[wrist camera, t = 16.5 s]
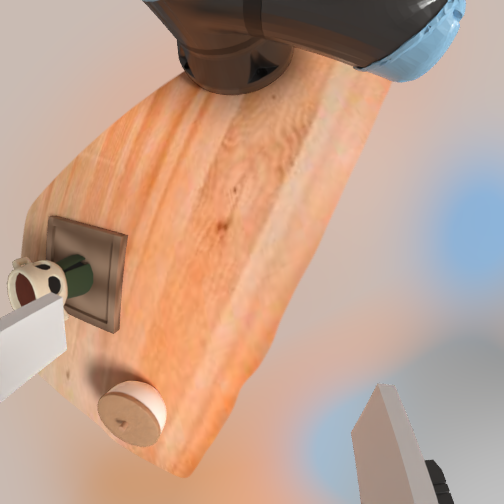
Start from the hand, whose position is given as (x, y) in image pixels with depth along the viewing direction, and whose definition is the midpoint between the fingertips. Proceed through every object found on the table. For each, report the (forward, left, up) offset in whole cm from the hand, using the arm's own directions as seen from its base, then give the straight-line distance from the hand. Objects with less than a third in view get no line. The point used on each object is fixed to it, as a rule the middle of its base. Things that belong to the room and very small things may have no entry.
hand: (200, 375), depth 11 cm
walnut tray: (+10, -27, -28) cm, 40 cm away
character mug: (+10, -27, -27) cm, 39 cm away
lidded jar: (+29, -14, -28) cm, 43 cm away
